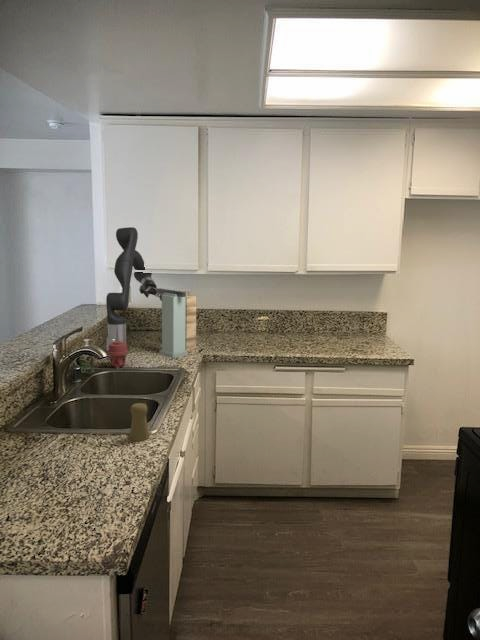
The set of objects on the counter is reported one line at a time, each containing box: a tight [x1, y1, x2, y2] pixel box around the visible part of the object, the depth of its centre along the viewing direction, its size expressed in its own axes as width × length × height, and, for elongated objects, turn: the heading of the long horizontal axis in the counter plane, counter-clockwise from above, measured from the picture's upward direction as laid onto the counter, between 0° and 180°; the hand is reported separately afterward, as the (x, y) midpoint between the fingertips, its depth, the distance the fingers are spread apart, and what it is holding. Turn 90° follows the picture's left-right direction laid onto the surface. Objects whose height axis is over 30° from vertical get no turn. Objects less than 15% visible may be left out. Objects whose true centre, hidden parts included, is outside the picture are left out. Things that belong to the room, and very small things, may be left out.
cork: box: [129, 402, 150, 443], centre depth 151 cm, size 6×6×11 cm
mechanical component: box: [106, 341, 129, 369], centre depth 231 cm, size 12×10×10 cm
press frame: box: [158, 293, 189, 359], centre depth 257 cm, size 12×10×33 cm
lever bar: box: [156, 287, 187, 297], centre depth 256 cm, size 22×2×2 cm, turn 46°
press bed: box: [185, 294, 197, 351], centre depth 273 cm, size 10×7×30 cm
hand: (155, 297), depth 268 cm, fingers open, 8 cm apart
